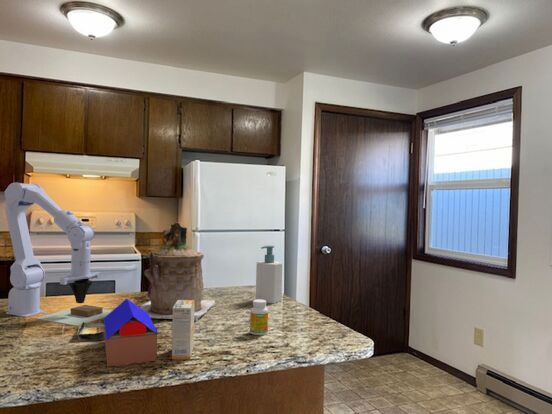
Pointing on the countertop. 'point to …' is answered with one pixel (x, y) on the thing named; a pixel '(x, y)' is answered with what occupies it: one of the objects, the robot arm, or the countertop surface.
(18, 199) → the robot arm
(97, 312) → the walnut slab
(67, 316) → the mat
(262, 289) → the soap bottle
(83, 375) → the countertop surface
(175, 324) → the supplement box
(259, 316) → the supplement bottle
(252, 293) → the countertop surface
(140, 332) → the house
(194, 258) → the brown textured pot
